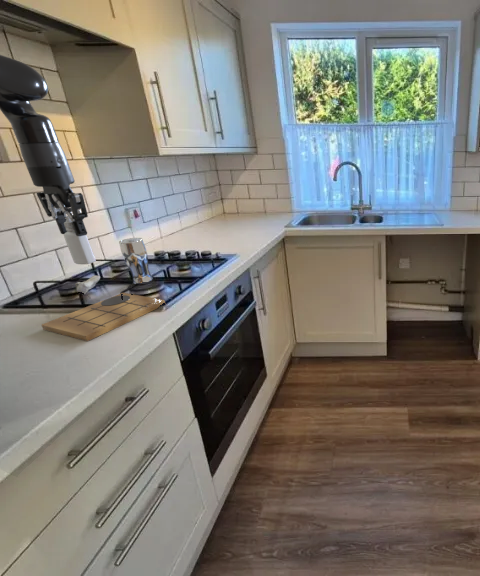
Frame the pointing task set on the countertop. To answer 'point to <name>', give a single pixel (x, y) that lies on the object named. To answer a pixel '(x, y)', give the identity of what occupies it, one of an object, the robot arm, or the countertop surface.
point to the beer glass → (136, 259)
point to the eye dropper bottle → (78, 245)
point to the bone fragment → (87, 284)
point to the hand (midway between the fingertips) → (74, 234)
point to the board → (102, 316)
